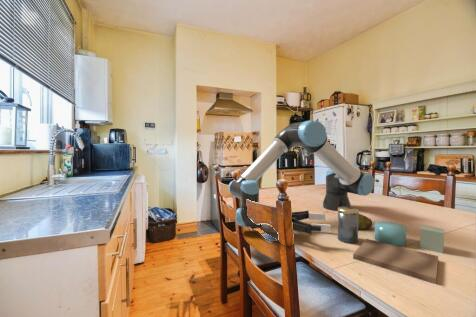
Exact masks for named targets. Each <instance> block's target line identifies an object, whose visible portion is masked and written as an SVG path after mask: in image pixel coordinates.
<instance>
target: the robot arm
mask: <svg viewBox="0 0 476 317" xmlns="http://www.w3.org/2000/svg"><path fill="white" fill-rule="evenodd" d="M326 131H327V129H326V126H324V124H323V123H322V122H321V121H318V120H305V121H300V122H293V123H290V124H288V125H287V126H286V127H284V128H283V129H282V130H281V131H280V132H278V134H277V135H275V137H274V138H273V139H272V143H271V144H269V145H268V146H267V148H266V149H265V150H264V151H263V152H262V153H261V154H260V155H259V156H258V157H257V158H256V159H255V160H254V161H253V162H252V164H250V166H249V167H247V169H245V171H244V172H242V174H240V176H239V177H238V178H237V179H236V181H234V180H231V181H230V182H229V184H228V186H227V190H228V193H229V194H230V195H231V196H233V197H234V196H235V197H234V198H237V199H239V200H240V207H239V208H237V209H236V211H235V222H236V224H237V225H238V226H240V227H246V228H262V229H263V228H264V229H266V230H268V229H272V228H273V227H271V226H270V225H267V224H262V225H261V224H260V225H256V224H255V223H253V222H252V221H251V220H250V219H249V218H248V216H247V206H246V199H249V200H251V201H255V202H258V203H260V202H259V201H260V196H259V195H260V189H259V182H258V181H259V179H260V178H261V177H262V176H263V175H264V174H265V173H266V172H267V171H268V170H269V169H270V167H272V166H273V164H274V163H275V162H276V161H277V160H278V159H279V158H280V157H281V156H282V155H283V154H284V153H288V151H290V149H293V148H294V147H295V148H296V147H301V148H302V149H303V150H304V151H306V153H308V154H311V155H312V154H313V155H315V156H316V157H317V158H318V159H319V161H321V162H322V163H323V164H324V165H325V166H326V167H327V168H329V169H327V170H326V174H325V195H324V196H325V197H324V199H323V201H322V207H323V208H324V209H325V210H331V211H336V212H338V207H341V206H347V207H352V204H351V202H350V199H349V196H348V195H349V194H348V193H350V194H353V195H357V196H368V195H370V194H371V193H372V191H373V189H374V186H375V179H374V176H373V175H372V173H368V172H363V171H362V170H361V169H360V168H359V167H358V166H355V165H352V164H351V163H350V162H349V161H348V160H347V159H345V156H343V155H342V154H341V153H340V152H339V151H338V150H337V149H336V148H335V147H334V146H333V145H332V144H331V143H330V142H329V141H328V132H326ZM243 208H244V209H243ZM291 212H292V222H293V230H292V231H295V232H301V233H305V234H309V235H311V234H312V232H315V233H331V228H332V227H331V224H324V223H322V224H321V223H311V224H310V223H307V222H303V221H304V220H307V219H308V220H310V221H324V222H325V221H326V213H317V212H316V213H315V212H309V210H303V211H301V210H300V211H291Z"/></svg>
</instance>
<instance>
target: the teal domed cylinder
mask: <svg viewBox="0 0 476 317" xmlns="http://www.w3.org/2000/svg"><path fill="white" fill-rule="evenodd" d="M374 241H378V242H382V243H386V244H390V245H394V246H399V247H404V246H406V245H407V226H405V225H404V224H401V223H398V222H394V221H388V220H385V221H384V220H380V221H379V220H377V221H375V222H374Z"/></svg>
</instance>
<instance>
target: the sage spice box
mask: <svg viewBox="0 0 476 317" xmlns="http://www.w3.org/2000/svg"><path fill="white" fill-rule="evenodd" d="M419 234H420V235H419V236H420V238H419V248H420V249H422V250H427V251H430V252H435V253H439V254H444V237H445V236H444V234H445V228H442V227H441V228H440V227H439V228H438V227H434V226H428V225H424V224H422V225H421V226H420V233H419Z"/></svg>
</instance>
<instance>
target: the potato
mask: <svg viewBox="0 0 476 317" xmlns="http://www.w3.org/2000/svg"><path fill="white" fill-rule="evenodd" d="M372 227H373V221H372V220H371V218H369V217H367V216H366V215H363V214H361V213H359V214H358V230H367V229H371V228H372Z"/></svg>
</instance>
